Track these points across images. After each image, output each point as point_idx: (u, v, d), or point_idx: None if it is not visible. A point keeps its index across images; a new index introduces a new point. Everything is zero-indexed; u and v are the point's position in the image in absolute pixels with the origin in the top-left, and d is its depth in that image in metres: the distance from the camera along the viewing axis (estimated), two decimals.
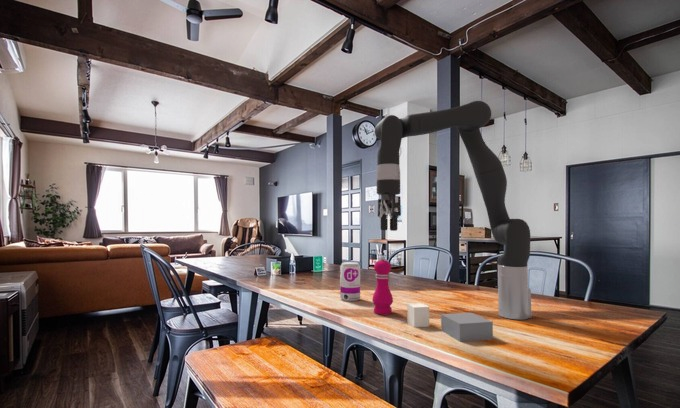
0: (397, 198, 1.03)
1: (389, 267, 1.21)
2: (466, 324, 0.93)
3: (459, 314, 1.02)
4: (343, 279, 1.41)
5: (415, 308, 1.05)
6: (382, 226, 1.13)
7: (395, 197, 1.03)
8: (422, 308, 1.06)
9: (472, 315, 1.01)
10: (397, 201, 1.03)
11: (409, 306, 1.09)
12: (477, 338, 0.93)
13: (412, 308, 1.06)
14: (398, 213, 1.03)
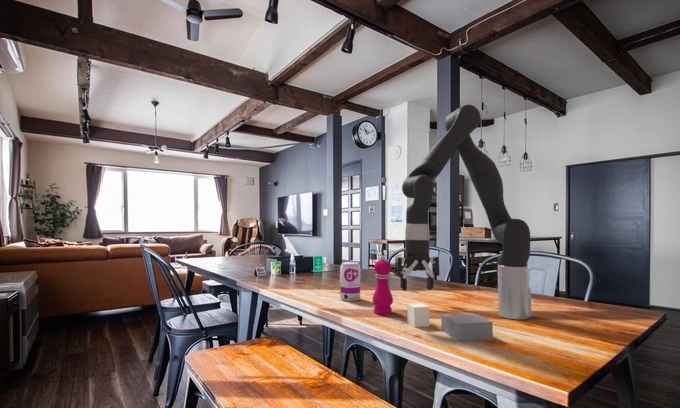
0: None
1: (389, 267, 1.21)
2: (466, 324, 0.93)
3: (459, 314, 1.02)
4: (343, 279, 1.41)
5: (415, 308, 1.05)
6: None
7: None
8: (422, 308, 1.06)
9: (472, 315, 1.01)
10: None
11: (409, 306, 1.09)
12: (476, 338, 0.93)
13: (412, 308, 1.06)
14: None
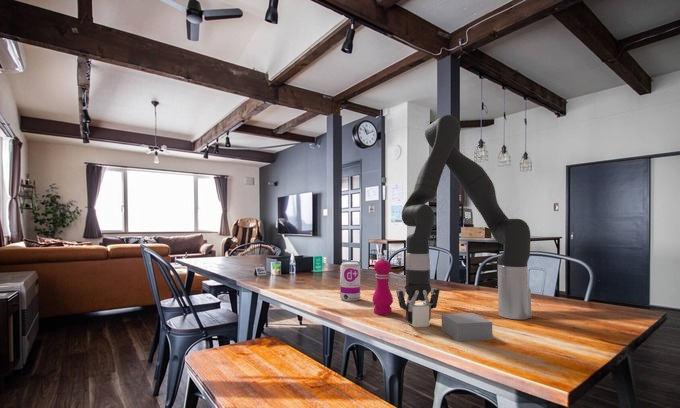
0: None
1: (389, 267, 1.21)
2: (465, 324, 0.93)
3: (460, 314, 1.02)
4: (343, 279, 1.41)
5: (415, 308, 1.05)
6: None
7: None
8: (422, 308, 1.06)
9: (473, 315, 1.01)
10: None
11: None
12: (476, 338, 0.93)
13: (412, 308, 1.06)
14: None
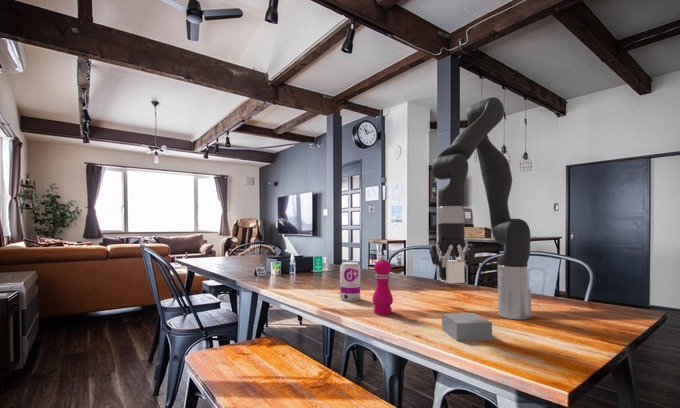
0: None
1: (389, 267, 1.21)
2: (464, 324, 0.93)
3: (460, 314, 1.02)
4: (343, 279, 1.41)
5: (449, 263, 0.99)
6: None
7: None
8: (457, 263, 1.00)
9: (473, 315, 1.01)
10: None
11: None
12: (475, 338, 0.93)
13: (446, 263, 1.00)
14: None
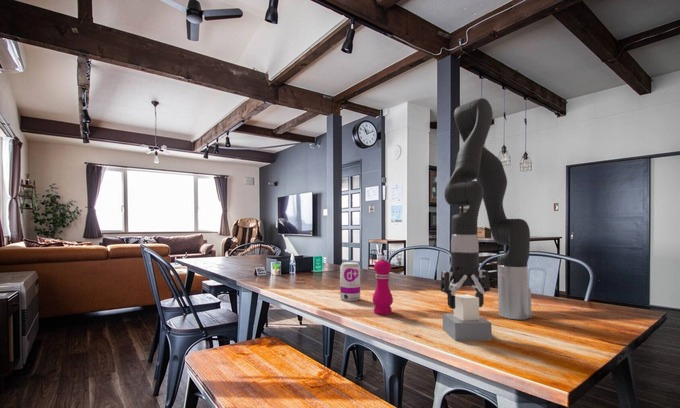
0: None
1: (389, 267, 1.21)
2: (463, 324, 0.93)
3: None
4: (343, 279, 1.41)
5: (464, 299, 0.96)
6: None
7: None
8: (471, 299, 0.97)
9: None
10: None
11: (456, 297, 0.99)
12: (474, 338, 0.93)
13: (460, 299, 0.97)
14: None
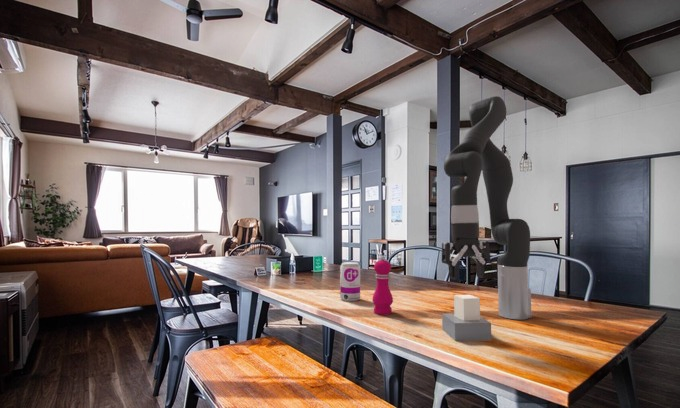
0: None
1: (389, 267, 1.21)
2: (462, 324, 0.93)
3: None
4: (343, 279, 1.41)
5: (465, 299, 0.96)
6: None
7: None
8: (472, 299, 0.96)
9: None
10: None
11: (457, 297, 0.99)
12: (474, 338, 0.93)
13: (461, 299, 0.97)
14: None
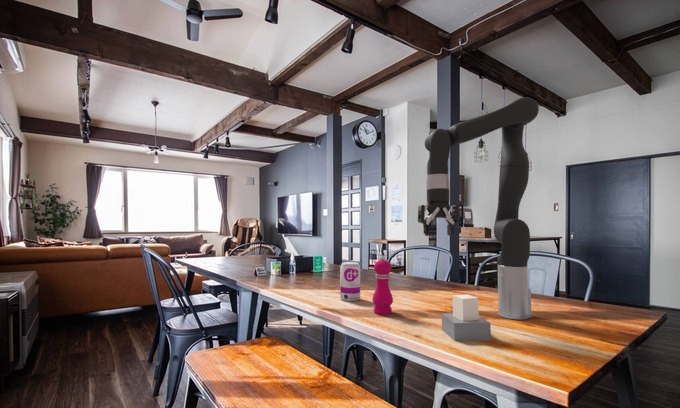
0: None
1: (389, 267, 1.21)
2: (462, 324, 0.93)
3: None
4: (343, 279, 1.41)
5: (464, 299, 0.96)
6: None
7: None
8: (471, 299, 0.96)
9: None
10: None
11: (455, 298, 0.99)
12: (473, 338, 0.93)
13: (460, 299, 0.97)
14: None
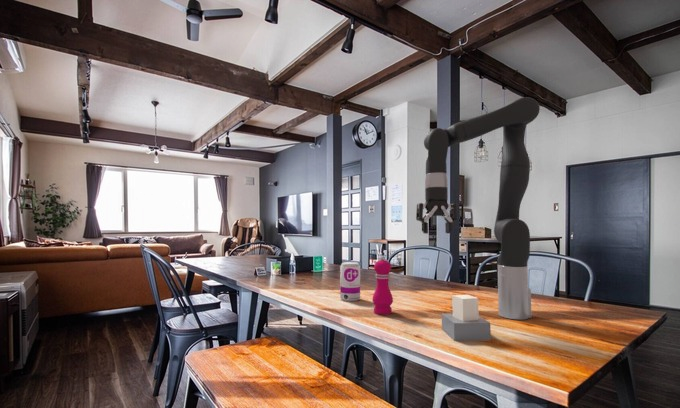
0: None
1: (389, 267, 1.21)
2: (461, 324, 0.93)
3: None
4: (343, 279, 1.41)
5: (464, 300, 0.96)
6: None
7: None
8: (471, 300, 0.96)
9: None
10: None
11: (455, 298, 0.99)
12: (473, 338, 0.93)
13: (460, 299, 0.97)
14: None
